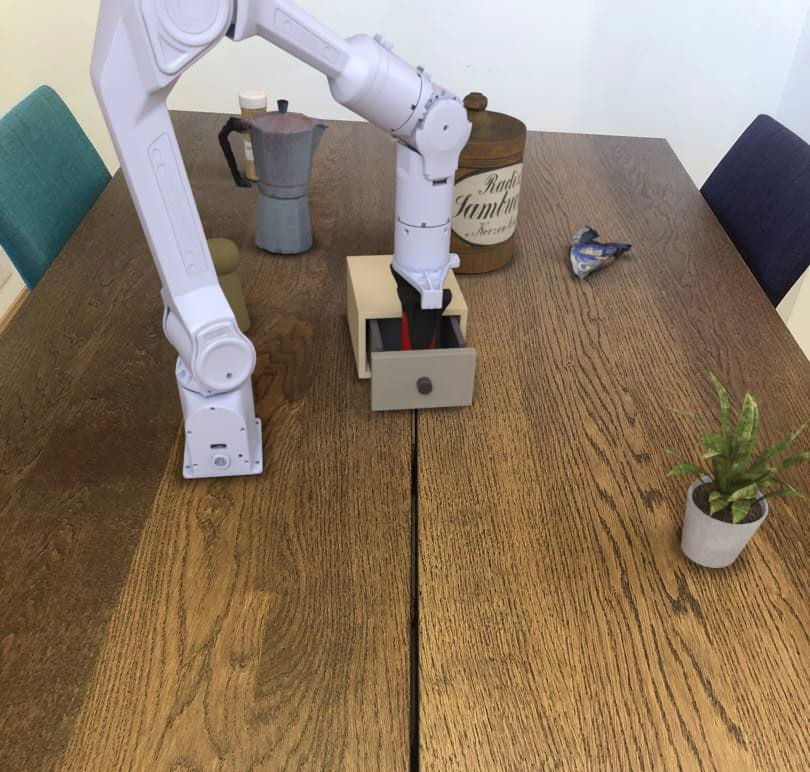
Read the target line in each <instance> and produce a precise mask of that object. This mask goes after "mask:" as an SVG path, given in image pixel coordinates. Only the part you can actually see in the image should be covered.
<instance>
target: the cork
mask: <svg viewBox="0 0 810 772" xmlns="http://www.w3.org/2000/svg"><path fill="white" fill-rule="evenodd" d="M206 241H207V244H208V248H209V251H210V254H211V258H212V261H213V264H214V268H215V271H216V275H217V278H218V281H219V285H220V287H221V289H222V291H223V293H224V295H225V297H226V299H227V301H228V303H229V305H230V307H231V309H232V311H233V313H234V316H235V319H236V322H237V325H238V328H239V329H240V331H241V332H242V333H243V334H245V332H247V331H248V330H249V329H250V328H251V323H252V322H251V319H250V316H249V312H248V308H247V304H246V300H245V296H244V292H243V288H242V284H241V280H240V276H239V272H238V269H237V268H238V267H239V265H240V262H241V261H240V260H241V255H240V250H239V248H238V246H237V245H236V243H235V242H234V241H232V240H230V239H227V238H224V237H213V238H208V239H207V238H206Z"/></svg>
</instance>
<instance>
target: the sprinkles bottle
mask: <svg viewBox="0 0 810 772" xmlns="http://www.w3.org/2000/svg"><path fill="white" fill-rule="evenodd" d="M238 104H239V109H240V115H241V118H252V117H253V115H254V114H258V113H264V112H268V111H267V109H268V98H267V94H266V92H264V91H262V90H258V89H247V90H243V91H240V92H239V93H238ZM242 141H243V152H244V158H245V167H246V174H245V176H246V178H247V179H248V180H251V181H257V182H258V179H259V178H258V177H257V176H256V172H255V165H254V158H253V152H252V146H251V140H250V135H249V134H242Z"/></svg>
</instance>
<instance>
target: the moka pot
mask: <svg viewBox="0 0 810 772" xmlns="http://www.w3.org/2000/svg"><path fill="white" fill-rule="evenodd" d="M289 103H290V102H289V101H288V100H286V99H282V98H281V99H278V100H276V104H277V110H269V111H267V112H264V113H258V114H254V115H253V117H252V118H242V117H241V118H239V117H235V116H230V117H229V119H228V120H226V122H225V124H224V125H223V126H222V127H221V130H220V131H219V132H218V135H217V138H218V143H219V146H220V147H221V150H222V152H223V155H224V158H225V159H226V162H227V166H228V168H229V169H230V173H231V176H232V178H233V180H234V182H235V185H236V187H239V188H246V189H248V188H252V185H253V184H254V181H253V180H251V179H247V180H246V179H243V178H242V175H241V172H240V170H239V169H238V164H237V159H236V157H235V155H234V152H233V150H232V146H231V142H230V141H229V139H228V138H229V135H230V134H231V133H232V132H236V133H238V134H241V135H243V134H249V135H250V140H251V146H252V152H253V158H254V165H255V172H256V176H257V177H258V178H259V179H258V181H257V183H256V185H257V188H258V190H259V193H258V199H257V212H256V213H257V214H256V223H255V234H254V244H255V245H256V246H257V247H258V248H260V249H262V250H265V251H267V252H269V253H274V254H280V255H284V254H285V255H291V254H299V253H304V252H306V251H308V250H310V249H311V248H312V247H313V245H314V243H313V242H314V237H313V227H312V226H313V225H312V218H311V209H310V205H311V204H312V199H311V197H310V196H309V193H308V192H309V186H310V179H311V176H312V169H313V168H312V167H313V162H314V161H313V160H314V157H315V154H316V152H317V150H318V147H319V146H320V145H319V144H320V142H321V140H322V138H323V136H324V133H325V132H326V130H327V129H328V128H329V125H328V124H327V123H326V122H325V121H323V120H322V119H320V118H317V117H312V116H308V115H306V114H304V113H302V112H295V111H288V109H289Z"/></svg>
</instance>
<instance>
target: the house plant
mask: <svg viewBox="0 0 810 772" xmlns="http://www.w3.org/2000/svg"><path fill="white" fill-rule="evenodd" d="M707 372H708V374H709V375H710V377H711V379H712V381H713V382H714V385H715V388H716V390H717V393H718V397H719V403H720V421H721V428H722V431H723V432H722V433H723V436H722V434H720V433H719V432H713V431H712V432H708V430H707V428H706V426H705V425H704V423H702V422H701V421H700V420H699V419H698V417H697V416H696V415H694V414H692V413H690V412H688V411H685V410H682V409H678V408H674V407H667V406H666V407H665V406H664V409H668V410H671V411H674V412H676V413H677V414H679V415H680V414H681V415H683V416H685V417H688V418H689V419H691V420H693V421H694V423H696V424H697V426H698V427H699V428H700V430H701V432H702V434H701V435H699V437H698V438H699V441H700V442H701V445H703V446H704V447H705V449H706V450H707V451H706V452H704V453H703V454H702V455H701V457H700V459H699V461H703V462H706V461H708V460H710V461H711V466H712V473H713V474H712V475H711V474H709V473H708V472H707V471H706V470H705V469H704V468H703V467H701V466H698V465H696V464H692V463H689V462H688V461H687V460H686V459H685V458H684V456H682V454H680V453H678V452H676V451H674V450H670V449H667V448H659V447H658V449H659V450H662V451H663V452H667V453H668V454H671V455H673V456H675V457H676V458H678V459H679V460H680V461H681V462H683V463H679V464H678V465H675V466H674V467H673V468H671V469H670V471H669V472H668V473H667V474H666V475H665V476H664V477H663V478H667V477H668V476H669V477H670V476H671V477H672V476H673V477H676V476H677V477H678V476H686V475H687V476H688V475H694V477H696V480H694V481H693V482H691V483H690V485H689V486H688V488H687V489H688V490H687V496H686V502H685V509H684V516H683V525H682V532H681V539H680V547H681V550H682V552H683V553H684V555H685V556H686V557H687V558H688V559H689V560H690V561H692V562H694V563H696V564H698V565H700V566H702V567H706V568H711V569H720V568H721V569H722V568H726V567H728V566H731V565H732V564H733V563H734V562H735V561H736V560H737V558H738V557H739V555H740V554H741V552H742V551H743V550H744V548H745V547H746V546H747V545H748V542H749V541H750V540H751V539H752V537H753V536H754V535H755V533H756V531H757V530H758V529H759V527H760V526H761V525H762V523H763V522H764V521H765V519H767V515H768V514H769V504H768V501H767V499H768V498H773V497H783V496H787V497H790V496H791V497H799V498H801V499H804V500H805V501H807V498H806V497H805V495H804V494H803V493H802V491H801V490H798V489H794V488H793V486H791V485H790V484H789V483H787V482H786V481H784V480H781V479H780V478H778V477H773V476H770V475H772V474H773V473H775V475H777V474H778V471H780V470H782V469H785V468H788V467H790V466H791V467H792V466H794V465H797V464H802V463H804V462H806V461H807V460H810V450H809V451H805V452H802V453H799V454H796V455H793V456H789V457H787V458H784V459H781V460H780V461H779V462H777V463H776V464H775V465H773V466H772V467H766V466H767V465H768V464H769V463H770V462H771V461H772V460H773V459H774V458H775V457H776V456H778V455H779V454H781V453H782V452H783V451H784V450H785V449H786V448H788V447H789V445H790V444H791V443H793V441H794V440H795V439H796V438H797V436H799V434H800V433H801V432H802V431H803V429H804V428H805V427H806V426H807V424H808V423H809V422H810V418H809V419H808V420H807V421H805V422H803V423H802V424H801V425H800V426H798V428H796V429H795V430H793V431H791V433H788V435H787V436H786V437H785V438H784V439H783V440H782V441H781V442H780V443H772V444H769V445H767V446H766V447H765V448H764V449H763V450H762V451H761V452H760V453H759V454H758V455H757V457H756V458H755V459H754V460H753V462H752V463H751V464H750V466H749V467H748V469H747V470H746V471H745V469H746V467H747V465H748V463H749V460H750V459H751V456H752V453H753V450H754V446H755V441H756V440H757V439H760V438H767V436H766V435H765V436H764V435H763V436H759V437H757V435H758V433H759V431H760V430H761V429H762V428H763V426H764V425H765V424H766V423H767V422H768V421H769V420H770V419H771V418H772V417H773V416H775V415H776V414H778V413H779V412H781V411H782V409H779V410H777V411H776V412H774V413H772V415H770V416H769V417H768V418H767V420H765V422H764V423H763V424H762V426H761V427H760V428H759V424H760V413H759V406H758V402H757V401H756V398H755V395H754V394H753V393H752V396H751V394H750V391H749V389H746V394H745V397H744V401H743V404H742V407H741V408H742V409H741V412H740V415H739V418H738V421H737V424H736V427H735V432H734V439H732V438H733V437H732V429H731V412H730V410H731V409H730V402H729V397H728V393H727V391H726V389H725V388H724V386H723V385H722V383H721V382H720V381H719V379H718V378H717V377H716V376H715V374H713V373H712V372H710V371H709V370H707ZM702 428H703V429H704V430H705V432H706V433H705V432H704V430H703V429H702ZM744 471H745V472H744ZM699 474H704V475H705V476H702V477H701V476H700V475H699ZM772 485H783V486H785V487H788V488H782V489H781V488H780V489H778V490H777V489H776V490H774V491H770V492H768V493H766V494H764V495H763V494H762V493H761V491H760V490H762V489H765V488H766V487H769V486H772ZM766 498H767V499H766Z"/></svg>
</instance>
